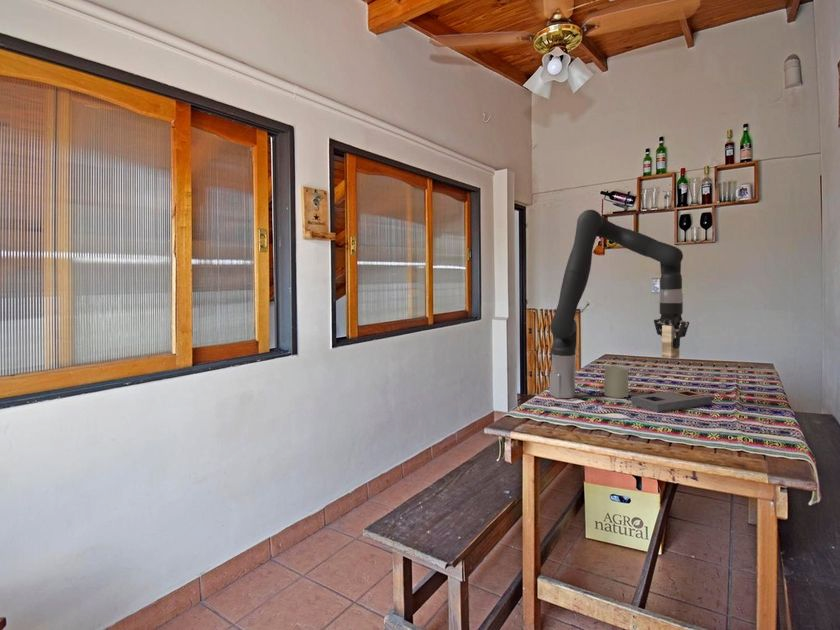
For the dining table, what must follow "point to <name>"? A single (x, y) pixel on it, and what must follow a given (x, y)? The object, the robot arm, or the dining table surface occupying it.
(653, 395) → the grey slotted board
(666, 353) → the peg
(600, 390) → the dining table surface
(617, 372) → the can
